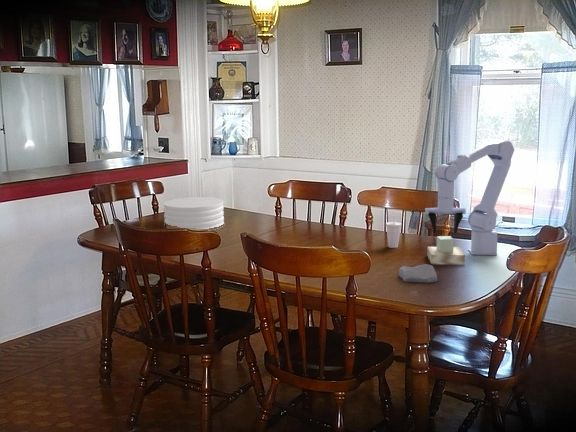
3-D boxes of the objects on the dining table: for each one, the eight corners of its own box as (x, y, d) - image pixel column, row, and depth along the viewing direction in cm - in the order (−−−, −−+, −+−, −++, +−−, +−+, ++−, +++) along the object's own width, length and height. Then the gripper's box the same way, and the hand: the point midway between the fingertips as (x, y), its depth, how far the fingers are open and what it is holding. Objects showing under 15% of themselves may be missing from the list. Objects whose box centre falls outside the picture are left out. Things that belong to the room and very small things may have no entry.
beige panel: (459, 257, 248) (459, 246, 248) (464, 265, 237) (464, 255, 236) (427, 256, 250) (427, 246, 249) (430, 265, 238) (431, 254, 237)
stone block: (439, 287, 217) (431, 273, 226) (440, 274, 215) (432, 261, 224) (404, 290, 217) (397, 275, 226) (404, 277, 215) (398, 263, 224)
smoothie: (389, 249, 259) (389, 215, 257) (382, 245, 265) (383, 212, 263) (403, 248, 261) (404, 213, 258) (397, 244, 267) (397, 210, 264)
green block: (449, 248, 245) (450, 235, 244) (453, 252, 240) (453, 239, 239) (436, 249, 245) (437, 236, 244) (439, 252, 240) (440, 239, 239)
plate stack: (171, 219, 324) (170, 197, 322) (227, 219, 323) (226, 196, 320) (158, 232, 297) (157, 207, 294) (219, 232, 295) (218, 207, 293)
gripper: (463, 194, 244) (462, 230, 247) (424, 195, 245) (423, 230, 248) (467, 198, 237) (465, 234, 240) (426, 198, 238) (426, 234, 241)
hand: (444, 232), depth 243 cm, fingers open, 7 cm apart
